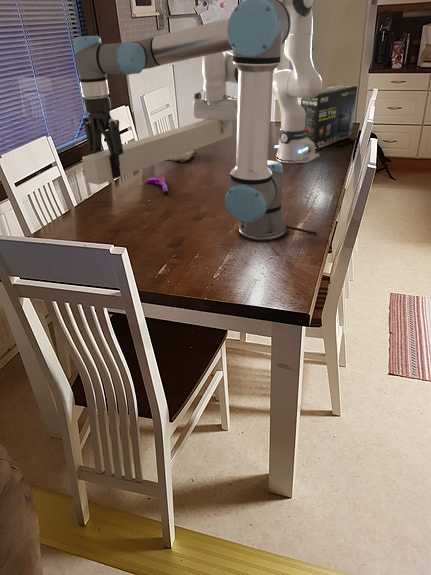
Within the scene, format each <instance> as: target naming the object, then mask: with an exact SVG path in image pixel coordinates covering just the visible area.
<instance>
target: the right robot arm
mask: <svg viewBox="0 0 431 575" xmlns="http://www.w3.org/2000/svg"><path fill="white" fill-rule="evenodd" d="M279 1H280V2H282V3H283V4H284V5H285V6H286V8H287V9H288V11H289V13H290V18H291V29H290V33H289V35H288V37H287V39H286V41H285V42H284V55H285V57H286V59H288V60H289V61H290V63H291V65H292V69H281V70H276V71H273V85H272V94H273V95H274V96H275V98H276V99H277V103H278V105H279V109H280V129H279V140H278V144H277V145H274V149H276V148H277V153H276V154H277V155H276V154H275V159H276V160H275V161H276V162H279V163H284V164H308V163H309V162H312V161H313V160H316V159H318V158H319V157H321V154H320V155H318V156H316V157H314V158H312V159H310V160H308V161H296V160H302V159H304V158H306V157H308V156H310V155H312V154H313V153H315V152H316V150H315V147H317V148H319V147H318V146H317V145H316V142H312V141H311V140H310V139H309V138H308V137H307V133H310V132H311V130H310V129H308V128H307V129H305V119H306V112H305V110H304V108H303V107H302V106H301V103H300V102H299V99H301V98H304V99H306V98H313V97H316V96H317V95H318V94H319V93H320V91H321V89H323V79H322V77H321V75H320V73H318V71H317V69H316V68H315V66H314V62H313V59H312V41H313V26H314V22H313V21H314V19H313V6H314V4H315V0H279ZM201 71H202V74H201V75H202V77H203V78H202V79H203V84H202V89H201V90H200V91H197V92H194V93H193V94H192V99H193V102H192V114H193V117H194V118H195V119H198V120H199V119H200V120H206V119H215V120H219V121H223V124H224V126H223V128H221V133H226V132H227V126H228V124H229V122H232V123H237V114H238V97H236V96H235V95H228V94H227V83H232V84H238V77H239V71H238V69H237V67H236V66H235V65H234V64H233V53H230V52H229V51H225V52H221V53H216V54H211V55H207V56H202V57H201ZM355 137H356V139H355V140H358V141H359V138H358V137H357V136H355ZM319 149H320V148H319ZM277 157H278V158H279V159H282V160H294V161H296V162H288V161H281V160H279V159H277Z"/></svg>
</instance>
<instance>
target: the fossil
mask: <svg viewBox="0 0 431 575" xmlns="http://www.w3.org/2000/svg"><path fill="white" fill-rule="evenodd" d="M198 153H199V150H198V149H195V150H192V151H189V152H187V153H184V154H181V155H179V156H176V157H173V158H171V159H168V161H174V162H177V161H179V162H180V163H185V162H187V161H188V160H190V159H191V158H192V157H193V156H194V155H197V154H198Z"/></svg>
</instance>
